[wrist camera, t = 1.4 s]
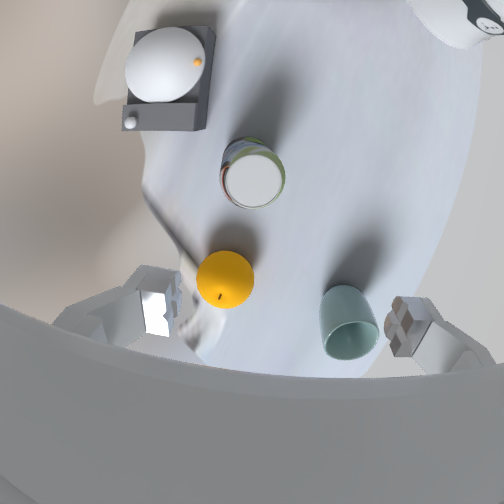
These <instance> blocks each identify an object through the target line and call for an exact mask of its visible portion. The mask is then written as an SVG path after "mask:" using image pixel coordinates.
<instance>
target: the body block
mask: <svg viewBox="0 0 504 504" xmlns="http://www.w3.org/2000/svg"><path fill="white" fill-rule="evenodd" d="M215 39H216V35H215V33H214V32H213V31H212V30H211V28H210V27H209V26H208V25H201V26H183V27H166V28H161V29H153V30H146V31H139V32H136V34H135V40H134V46H133V49H132V50H131V52H130V54H129V56H128V58H127V62H126V66H125V78H126V82H127V85H128V100H127V105H123V114H122V115H123V116H122V131H198V130H203V129H205V127H206V116H207V106H208V96H209V87H210V78H211V70H212V62H213V54H214V46H215Z"/></svg>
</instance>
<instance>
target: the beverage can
mask: <svg viewBox="0 0 504 504" xmlns="http://www.w3.org/2000/svg"><path fill="white" fill-rule="evenodd" d="M284 184H285V170H284V167H283V165H282V162H281V161H280V159H279V158H278V157H277V156H276V155H275V154H274V153H273V152H272V151H271V150H270V149H269V148H268V147H267V146H266V145H265V144H264V143H263V142H262V141H261V140H259V139H257V138H253V137H241V138H238V139H236V140H234V141H232V142H231V143H230V144H229V145H228V146H227V148H226V149H225V151H224V154H223V158H222V164H221V170H220V186H221V188H222V191H223V193H224V194H225V196H226V197H227V198H228V199H229V200H230V201H231V202H232V203H233V204H235V205H237V206H239V207H242V208H246V209H258V208H262V207H265V206H267V205H269V204H271V203H272V202H273V201H275V200H276V199H277V198H278V196H279V195H280V193H281V192H282V190H283V187H284Z"/></svg>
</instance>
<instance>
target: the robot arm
mask: <svg viewBox="0 0 504 504" xmlns="http://www.w3.org/2000/svg"><path fill="white" fill-rule="evenodd" d="M406 1H407V2H408V3H409V5H410V6H411V8H412V9H413V11H414V13H415V14H416V15H417V17H418V18H419V19H420V21H421V22H422V23H423V24H424V25H425V27H426V28H427V29H428V30H429V31H430V32H431V33H432V34H434V35H435V36H436V37H437V38H439V39H440V40H441V41H443V42H444V43H446V44H448V45H450V46H452V47H455V48H458V49H470V48H473V47H474V46H476V45H477V44H479V43H480V42H482V41H486V40H489V39H490V38H491V37H493V36H495V35H504V0H406ZM180 283H181V273H180V271H177V270H171V269H165V268H159V267H153V266H148V265H140V266H139V267H138V268H137V269H136V271H135V272H134V273H133V275H131V277H130V278H129V279H128V280H127V282H126V283H125V284H124V285H123V287H121V286H118V287H116V288H113V289H110V290H108V291H105V292H103V293H100V294H98V295H95V296H93V297H90V298H88V299H85V300H83V301H80V302H78V303H76V304H73V305H70V306H68V307H66V308H65V309H64V311H63V312H62V313H61V314H60V315H59V316H58V317H57V318H56V320H55V321H54V322H53V323H52V324H48V323H46V322H43V321H41V320H38V319H36V318H34V317H31V316H29V315H26V314H24V313H22V312H19V311H17V310H15V309H13V308H10V307H8V306H6V305H4V304H2V303H0V504H504V363H500V364H496V363H495V361H494V359H493V358H492V356H491V354H490V353H489V351H488V350H487V348H486V347H484V346H483V345H481V344H480V343H478V342H477V341H476V340H474V339H473V338H471V337H470V336H468V335H467V334H466V333H464V332H463V331H461V330H460V329H458V328H457V327H455V326H454V325H452V324H451V323H449V322H448V321H444V320H443V318H442V316H441V315H440V313H439V312H438V310H437V309H436V307H435V306H434V305H433V303H432V302H431V300H430V299H429V298H427V297H400V296H396V298H395V299H394V300H393V303H392V309H393V310H392V311H391V312H389V313H388V314H387V317H386V319H385V322H384V333H385V335H386V337H387V338H388V339H389V340H390V341H391V343H390V348H391V350H392V352H393V355H394V357H412V359H413V360H414V361H415V362H416V363H417V364H418V365H419V366H420V367H421V368H422V369H423V370H424V371H425V372H426V374H427V375H420V376H408V377H390V378H315V377H296V376H283V375H271V374H261V373H252V372H244V371H236V370H229V369H222V368H216V367H210V366H204V365H198V364H192V363H187V362H182V361H177V360H172V359H167V358H163V357H158V356H154V355H150V354H145V353H141V352H137V351H133V350H129V349H126V347H127V346H129V345H130V344H132V343H133V342H134V341H136V340H137V339H139V338H140V337H142V336H143V335H144V334H146V332H149V333H154V334H159V335H165V336H169V334H170V332H171V330H172V327H173V325H174V318H175V317H177V316H178V314H179V312H180V308H181V303H182V292H181V290H180V289H179V285H180Z"/></svg>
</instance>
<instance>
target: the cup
mask: <svg viewBox="0 0 504 504" xmlns="http://www.w3.org/2000/svg"><path fill="white" fill-rule="evenodd" d="M319 321H320V330H321V336H322V342H323V348H324V350H325V352H326V354H327V355H328V356H330V357H332V358H334V359H338V360H353V359H357V358H360V357H362V356H364V355H366V354H367V353H369V352H370V351H371V350H372V349H373V348H374V346H375V345H376V343H377V341H378V338H379V328H378V325H377V322H376V319H375V317H374V314H373V312H372V309H371V307H370V305H369V303H368V301H367V299H366V298H365V296H364V295H363V294H362V293H361V292H360V291H359V290H358V289H356V288H355V287H352V286H349V285H338V286H335V287H332V288H331V289H329V290H328V291H327V292H326V294H325V295H324V296H323V298H322V301H321V304H320V310H319Z"/></svg>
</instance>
